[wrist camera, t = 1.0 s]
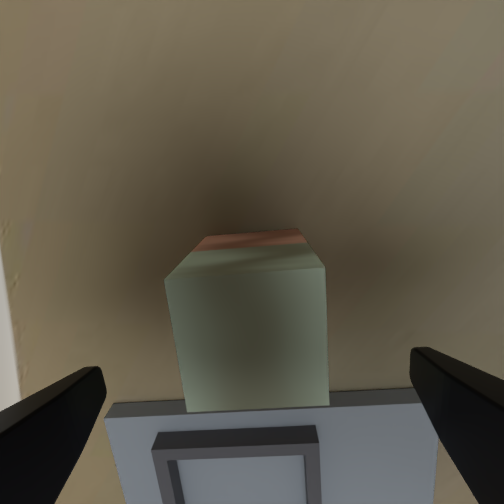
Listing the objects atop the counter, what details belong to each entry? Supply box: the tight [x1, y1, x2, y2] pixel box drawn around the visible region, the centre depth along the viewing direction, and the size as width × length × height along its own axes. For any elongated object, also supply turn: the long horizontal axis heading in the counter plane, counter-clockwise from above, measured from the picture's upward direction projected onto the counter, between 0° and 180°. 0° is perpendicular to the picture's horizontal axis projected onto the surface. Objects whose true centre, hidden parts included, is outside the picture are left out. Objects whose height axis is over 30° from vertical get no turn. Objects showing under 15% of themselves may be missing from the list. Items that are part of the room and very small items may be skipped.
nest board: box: [104, 388, 439, 504], centre depth 18 cm, size 20×12×2 cm, turn 95°
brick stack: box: [164, 229, 329, 412], centre depth 13 cm, size 5×5×7 cm
